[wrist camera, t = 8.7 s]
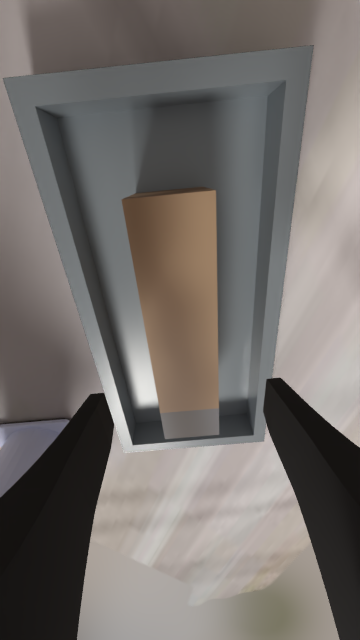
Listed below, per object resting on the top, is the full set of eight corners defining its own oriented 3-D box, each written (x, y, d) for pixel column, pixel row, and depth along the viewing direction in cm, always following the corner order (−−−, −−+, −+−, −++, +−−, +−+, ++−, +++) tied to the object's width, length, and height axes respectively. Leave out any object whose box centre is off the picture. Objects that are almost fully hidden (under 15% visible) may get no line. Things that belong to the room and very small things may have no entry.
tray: (254, 414, 26) (263, 441, 23) (128, 425, 26) (123, 452, 23) (284, 71, 13) (313, 45, 10) (35, 98, 13) (2, 78, 11)
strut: (202, 186, 15) (216, 189, 11) (210, 385, 23) (219, 434, 18) (135, 193, 15) (121, 199, 11) (166, 389, 23) (165, 439, 18)
